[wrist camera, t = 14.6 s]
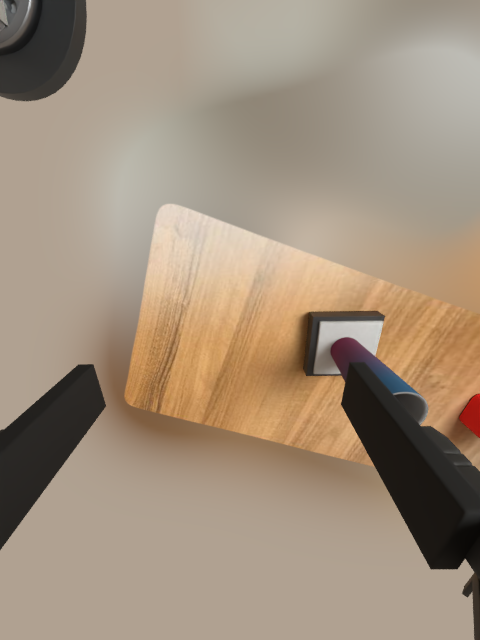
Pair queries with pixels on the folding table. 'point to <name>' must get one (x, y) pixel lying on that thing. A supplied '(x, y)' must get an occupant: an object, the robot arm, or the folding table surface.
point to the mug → (472, 415)
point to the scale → (338, 337)
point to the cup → (379, 375)
